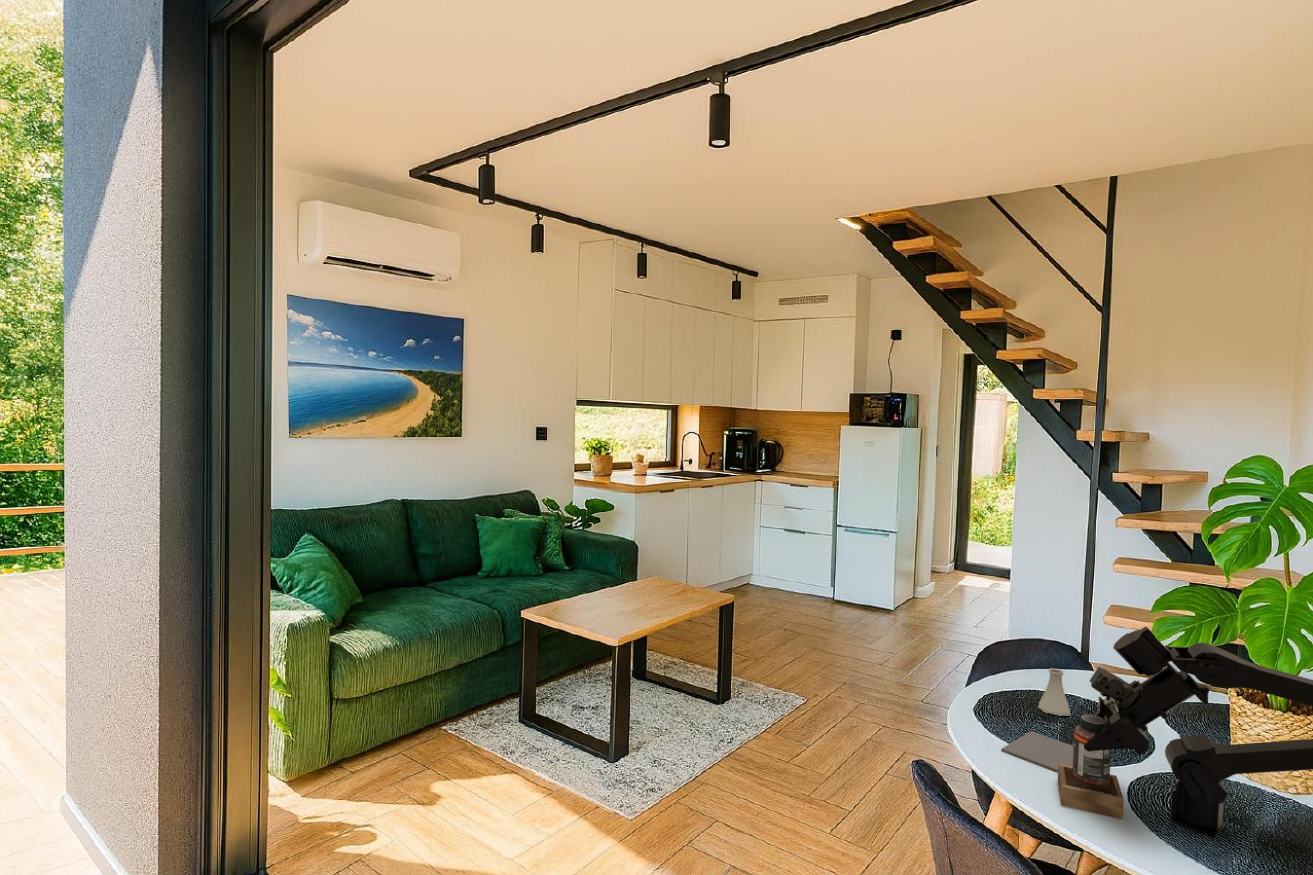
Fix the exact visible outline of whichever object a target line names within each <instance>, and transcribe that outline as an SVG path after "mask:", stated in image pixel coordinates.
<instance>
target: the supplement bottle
mask: <svg viewBox="0 0 1313 875" xmlns="http://www.w3.org/2000/svg"><path fill="white" fill-rule="evenodd" d="M1094 715H1095V714H1082V715H1081V716H1080V722H1079V723H1080V724H1079V725H1077V726H1076V727H1075V728H1074V730H1073V745H1072V746H1073V767H1072V768H1073V774H1074V776H1075V777H1076V778H1077V779H1079V780H1081V781H1083V782H1085V783H1088V784H1092V785H1097V786H1098V785H1105V784H1107V783H1109V778H1110V774H1111V760H1112V757H1111V756H1112V750H1100V751H1087V750H1086V749H1085V748H1084V744H1085V743H1087V742H1088V741H1089V740H1090V739H1091V738H1092V737H1093V736H1094V735H1095V734H1096V733H1098V732H1099V731H1100V730H1101V729H1102V728H1103V727H1104V722H1105V720H1104V719H1102V718H1101V717H1098V716H1094Z"/></svg>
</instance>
